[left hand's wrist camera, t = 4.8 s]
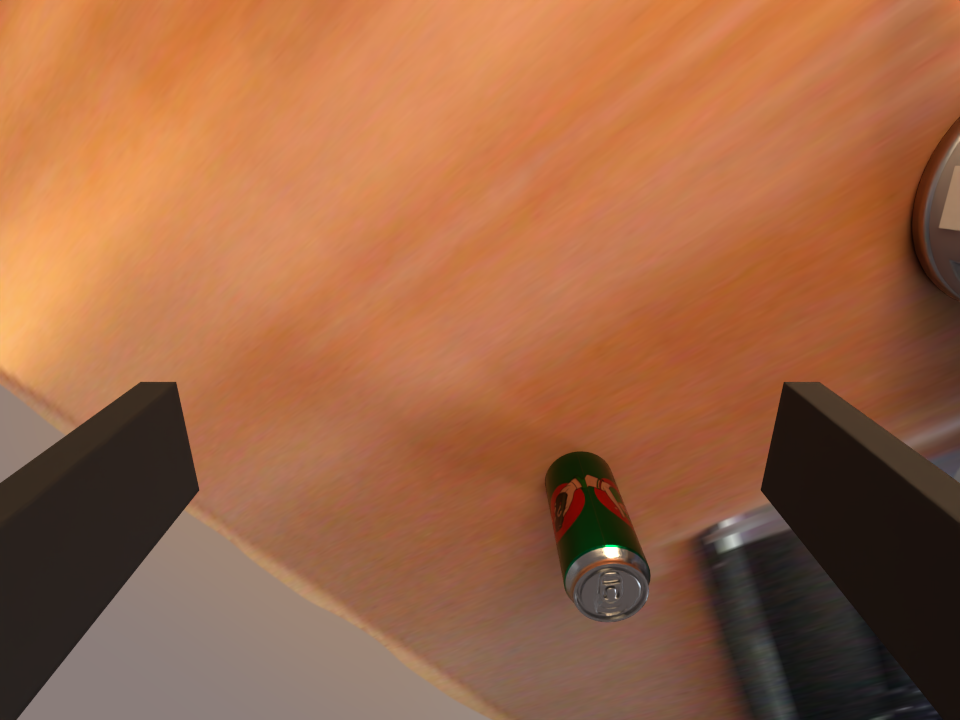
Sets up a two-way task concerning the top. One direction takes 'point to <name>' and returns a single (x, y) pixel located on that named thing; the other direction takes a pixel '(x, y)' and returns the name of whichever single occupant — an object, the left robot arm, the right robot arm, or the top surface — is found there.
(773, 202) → the top surface
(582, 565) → the soda can
